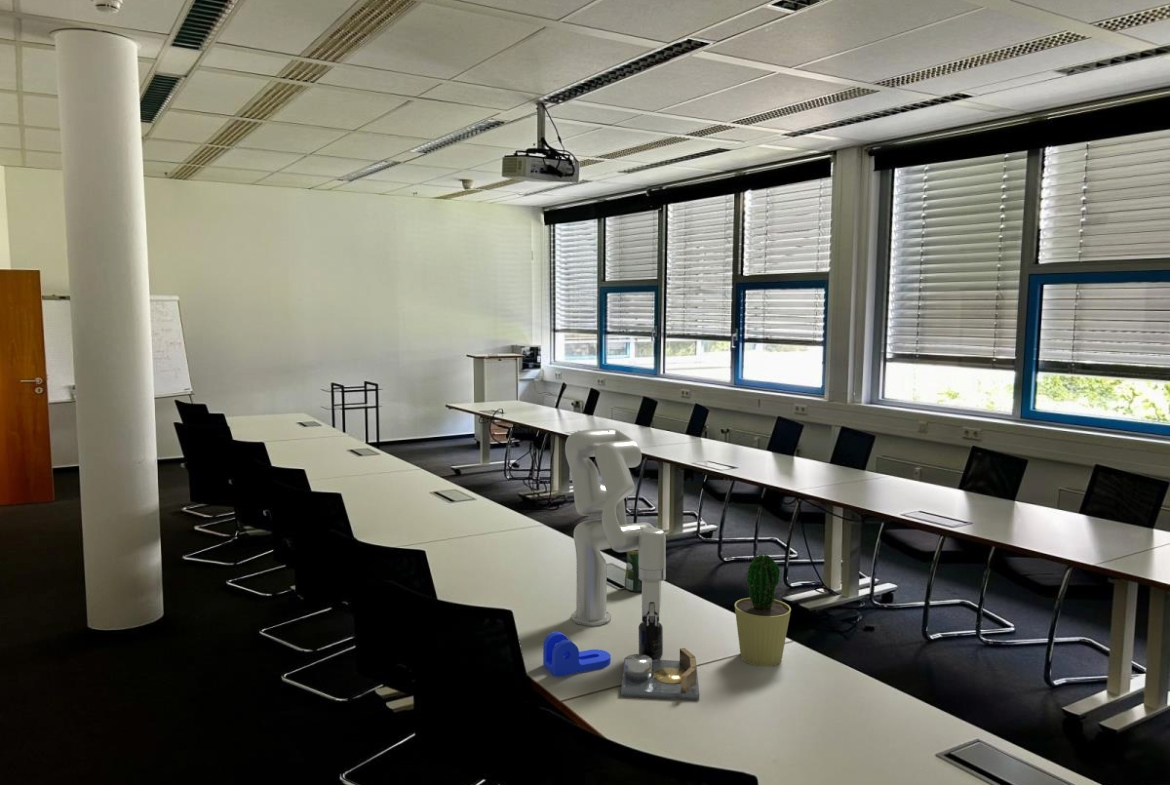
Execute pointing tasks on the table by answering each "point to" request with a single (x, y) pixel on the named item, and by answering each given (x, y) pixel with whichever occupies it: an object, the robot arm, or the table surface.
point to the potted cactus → (762, 615)
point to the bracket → (570, 656)
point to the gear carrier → (660, 677)
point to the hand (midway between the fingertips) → (652, 633)
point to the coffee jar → (633, 572)
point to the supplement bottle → (650, 641)
